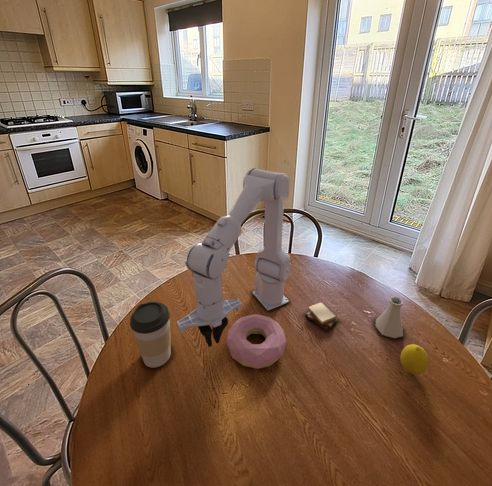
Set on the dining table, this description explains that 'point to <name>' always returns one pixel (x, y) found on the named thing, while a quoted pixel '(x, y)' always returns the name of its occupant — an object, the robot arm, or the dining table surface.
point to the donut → (256, 353)
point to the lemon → (414, 359)
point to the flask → (391, 319)
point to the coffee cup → (152, 333)
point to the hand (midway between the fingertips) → (212, 341)
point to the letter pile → (321, 316)
